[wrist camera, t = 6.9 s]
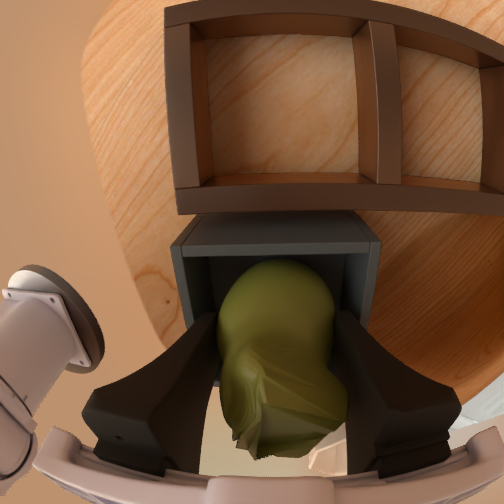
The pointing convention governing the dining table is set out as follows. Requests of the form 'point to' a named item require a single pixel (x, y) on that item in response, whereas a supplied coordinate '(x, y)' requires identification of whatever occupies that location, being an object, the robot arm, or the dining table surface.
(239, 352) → the olive cloth sack
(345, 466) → the cup
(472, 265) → the dining table surface
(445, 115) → the dining table surface
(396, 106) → the rack
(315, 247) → the tub
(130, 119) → the dining table surface
